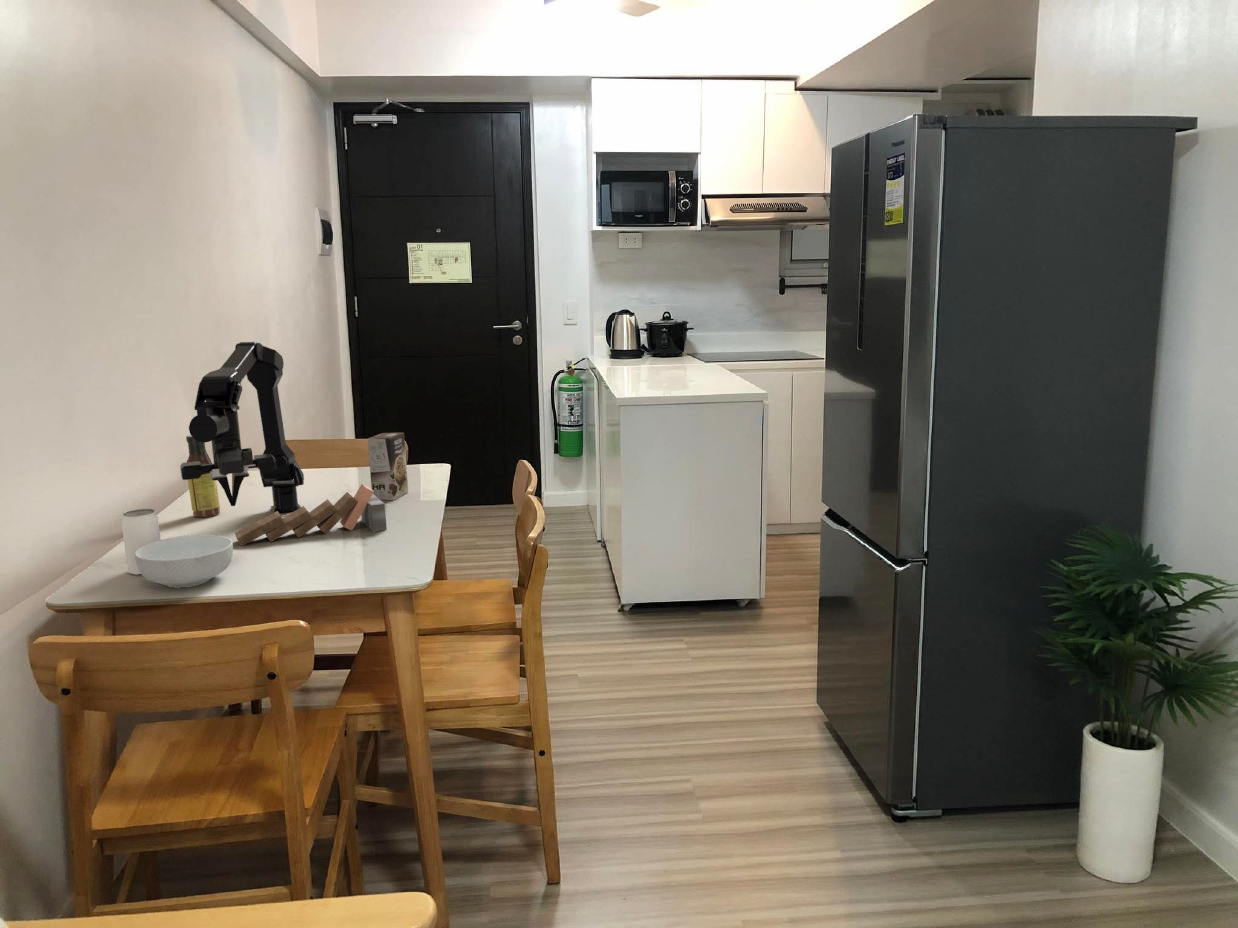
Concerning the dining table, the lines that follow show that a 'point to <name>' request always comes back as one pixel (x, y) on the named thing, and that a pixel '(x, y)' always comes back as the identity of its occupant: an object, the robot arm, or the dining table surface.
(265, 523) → the domino
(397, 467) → the coffee box
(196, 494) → the sauce bottle
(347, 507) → the domino
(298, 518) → the domino
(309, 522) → the domino
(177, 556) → the cereal bowl
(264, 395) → the robot arm
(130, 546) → the can
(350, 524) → the end tile
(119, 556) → the dining table surface
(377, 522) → the end stop
